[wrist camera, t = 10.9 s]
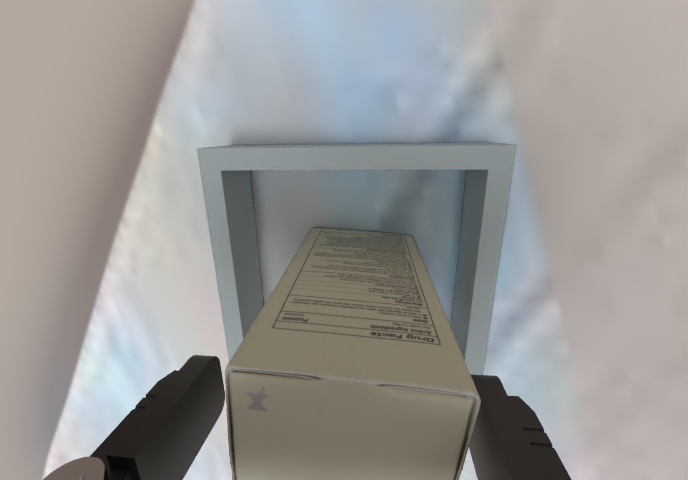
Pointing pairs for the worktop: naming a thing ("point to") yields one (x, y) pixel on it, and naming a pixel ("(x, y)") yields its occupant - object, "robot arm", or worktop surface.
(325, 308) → the skincare box
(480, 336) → the box
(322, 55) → the worktop surface
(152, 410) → the robot arm
